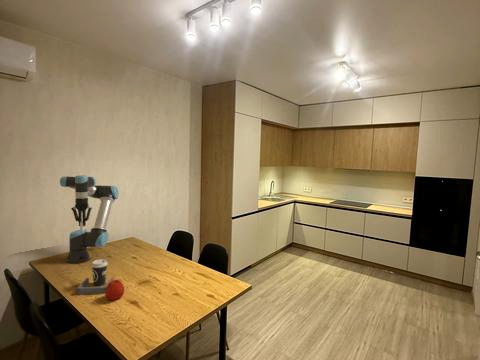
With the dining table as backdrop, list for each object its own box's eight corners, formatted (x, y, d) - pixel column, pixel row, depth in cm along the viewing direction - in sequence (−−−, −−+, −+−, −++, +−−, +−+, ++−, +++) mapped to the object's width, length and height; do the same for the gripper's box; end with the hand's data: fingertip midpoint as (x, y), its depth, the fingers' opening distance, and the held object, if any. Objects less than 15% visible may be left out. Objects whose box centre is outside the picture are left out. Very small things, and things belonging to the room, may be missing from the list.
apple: (111, 304, 147) (111, 286, 146) (101, 298, 152) (101, 281, 152) (127, 296, 156) (127, 279, 155) (117, 291, 161) (117, 275, 160)
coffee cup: (101, 288, 164) (101, 265, 163) (87, 286, 165) (87, 263, 164) (110, 281, 173) (110, 259, 172) (97, 280, 175) (97, 258, 173)
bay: (87, 282, 170) (86, 277, 170) (113, 282, 172) (113, 277, 172) (76, 294, 156) (76, 288, 156) (105, 293, 158) (105, 287, 158)
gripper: (68, 198, 177) (69, 232, 179) (89, 198, 180) (90, 232, 182) (73, 196, 184) (74, 229, 187) (93, 196, 187) (94, 228, 189)
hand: (82, 230), depth 184 cm, fingers closed
